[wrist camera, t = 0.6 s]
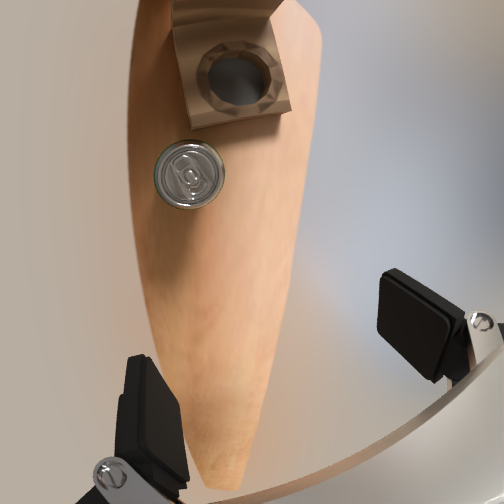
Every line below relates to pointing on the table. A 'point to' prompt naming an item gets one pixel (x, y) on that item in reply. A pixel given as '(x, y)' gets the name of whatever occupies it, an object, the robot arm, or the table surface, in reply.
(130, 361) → the robot arm
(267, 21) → the socket block
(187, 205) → the soda can
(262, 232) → the table surface
